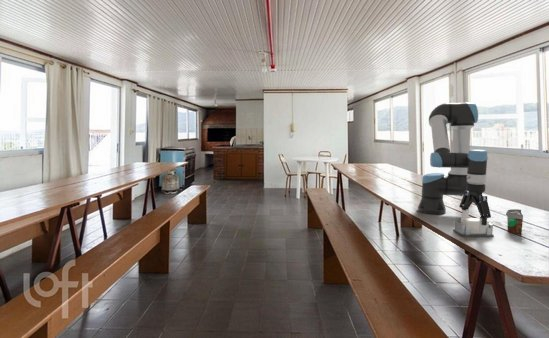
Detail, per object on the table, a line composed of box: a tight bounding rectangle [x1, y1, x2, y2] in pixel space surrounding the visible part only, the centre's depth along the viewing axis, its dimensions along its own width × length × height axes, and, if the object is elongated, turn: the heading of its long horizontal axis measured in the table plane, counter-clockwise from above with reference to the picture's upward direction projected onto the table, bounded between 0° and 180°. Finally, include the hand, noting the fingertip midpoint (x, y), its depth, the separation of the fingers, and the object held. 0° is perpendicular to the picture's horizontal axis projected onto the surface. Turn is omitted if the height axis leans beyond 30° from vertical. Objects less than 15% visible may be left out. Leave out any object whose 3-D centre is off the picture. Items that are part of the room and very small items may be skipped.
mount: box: [452, 220, 495, 238], centre depth 148 cm, size 14×9×6 cm, turn 88°
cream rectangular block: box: [460, 217, 490, 234], centre depth 148 cm, size 10×5×6 cm, turn 85°
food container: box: [505, 208, 524, 236], centre depth 150 cm, size 12×6×10 cm, turn 145°
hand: (473, 227), depth 148 cm, fingers open, 13 cm apart
